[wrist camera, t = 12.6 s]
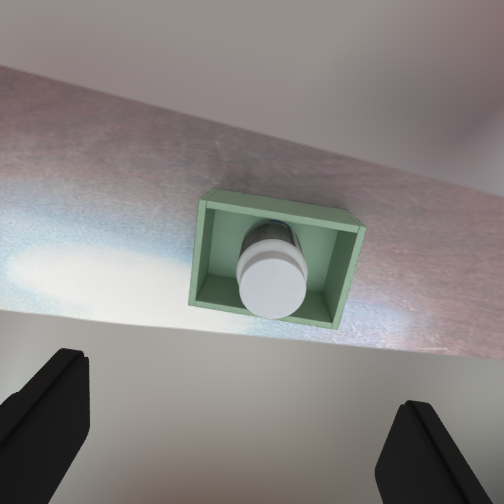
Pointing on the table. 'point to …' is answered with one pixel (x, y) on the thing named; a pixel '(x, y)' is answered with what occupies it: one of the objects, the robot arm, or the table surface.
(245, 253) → the pill bottle
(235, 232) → the bin
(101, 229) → the table surface
